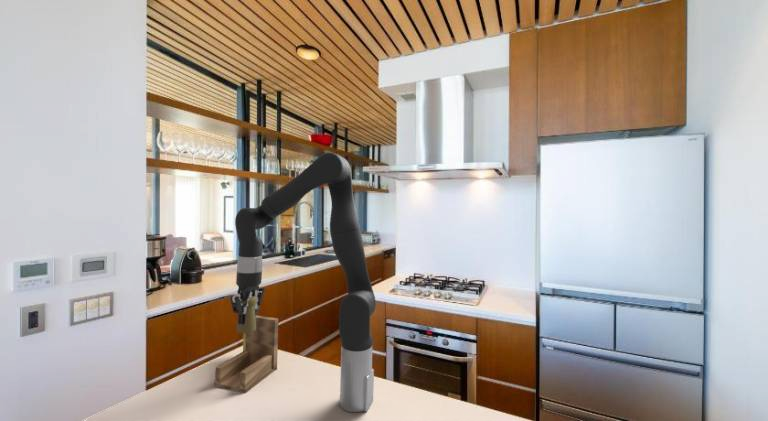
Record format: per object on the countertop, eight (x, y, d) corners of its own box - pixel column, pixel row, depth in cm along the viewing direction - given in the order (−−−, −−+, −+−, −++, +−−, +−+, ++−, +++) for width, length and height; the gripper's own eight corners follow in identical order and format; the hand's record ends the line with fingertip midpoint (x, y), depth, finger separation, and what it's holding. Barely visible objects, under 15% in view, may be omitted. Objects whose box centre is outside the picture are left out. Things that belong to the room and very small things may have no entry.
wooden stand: (277, 368, 114) (278, 318, 114) (245, 392, 98) (247, 334, 99) (248, 363, 117) (250, 314, 117) (214, 386, 102) (215, 329, 102)
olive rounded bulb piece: (248, 324, 107) (250, 292, 107) (260, 329, 104) (262, 295, 104) (231, 330, 102) (233, 295, 102) (244, 334, 99) (245, 299, 99)
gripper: (244, 274, 95) (241, 332, 95) (273, 267, 109) (270, 317, 109) (223, 272, 97) (220, 328, 97) (254, 265, 111) (251, 314, 111)
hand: (246, 322), depth 103 cm, fingers closed on olive rounded bulb piece, 4 cm apart
